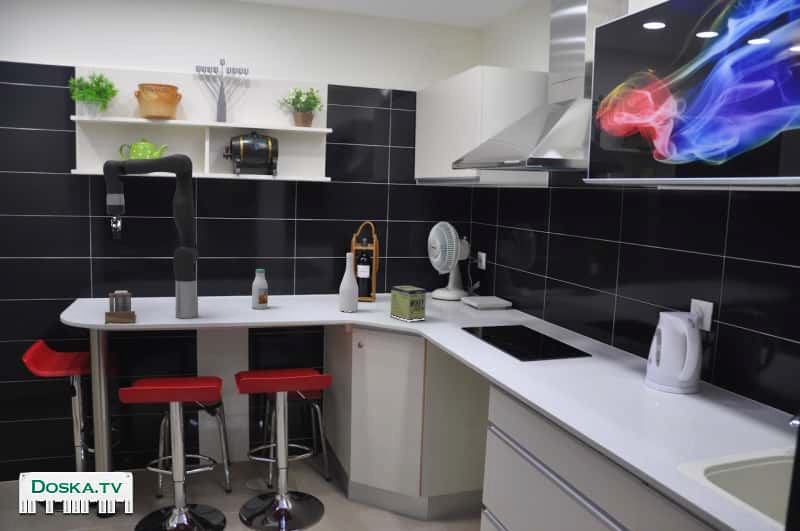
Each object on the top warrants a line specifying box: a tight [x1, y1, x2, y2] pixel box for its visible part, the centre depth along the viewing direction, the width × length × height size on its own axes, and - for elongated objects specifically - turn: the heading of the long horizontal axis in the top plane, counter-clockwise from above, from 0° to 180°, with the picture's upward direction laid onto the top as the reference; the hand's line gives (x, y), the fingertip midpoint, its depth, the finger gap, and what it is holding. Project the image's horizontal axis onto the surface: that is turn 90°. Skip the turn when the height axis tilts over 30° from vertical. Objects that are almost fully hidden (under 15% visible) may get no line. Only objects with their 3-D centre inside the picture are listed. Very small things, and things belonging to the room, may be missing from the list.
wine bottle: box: [338, 252, 359, 313], centre depth 334 cm, size 10×10×30 cm
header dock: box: [104, 292, 137, 325], centre depth 295 cm, size 16×12×13 cm
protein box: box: [389, 285, 427, 320], centre depth 322 cm, size 10×16×16 cm
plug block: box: [114, 290, 129, 312], centre depth 296 cm, size 5×5×12 cm
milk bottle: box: [251, 268, 269, 310], centre depth 334 cm, size 8×8×20 cm
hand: (117, 238), depth 306 cm, fingers open, 8 cm apart
